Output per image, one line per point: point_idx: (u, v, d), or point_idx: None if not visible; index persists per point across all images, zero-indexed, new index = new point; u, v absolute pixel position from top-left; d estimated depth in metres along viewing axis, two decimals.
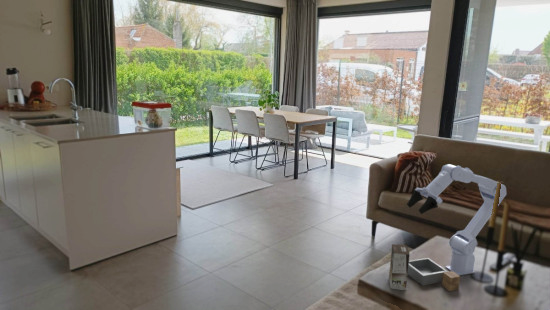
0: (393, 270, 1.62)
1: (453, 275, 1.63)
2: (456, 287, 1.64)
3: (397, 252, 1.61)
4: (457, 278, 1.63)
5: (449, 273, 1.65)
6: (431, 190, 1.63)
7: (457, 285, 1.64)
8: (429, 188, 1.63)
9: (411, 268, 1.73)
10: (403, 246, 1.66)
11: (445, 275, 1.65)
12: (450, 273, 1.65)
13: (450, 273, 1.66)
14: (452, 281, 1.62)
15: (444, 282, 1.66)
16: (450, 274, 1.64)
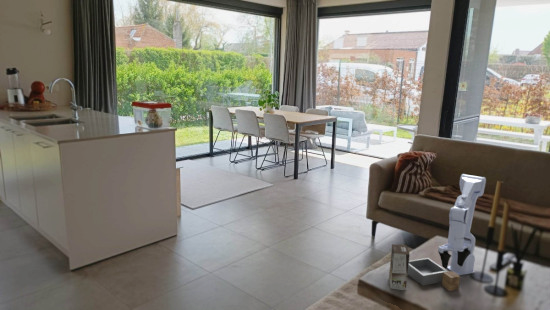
0: (393, 270, 1.62)
1: (453, 275, 1.63)
2: (456, 287, 1.64)
3: (397, 252, 1.61)
4: (457, 278, 1.63)
5: (449, 273, 1.65)
6: (462, 245, 1.60)
7: (457, 285, 1.64)
8: (461, 246, 1.59)
9: (411, 268, 1.73)
10: (403, 246, 1.66)
11: (445, 275, 1.65)
12: (450, 273, 1.65)
13: (450, 273, 1.66)
14: (452, 281, 1.62)
15: (444, 282, 1.66)
16: (450, 274, 1.64)
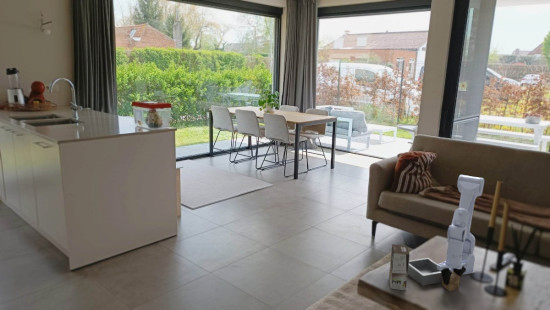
0: (393, 270, 1.62)
1: (453, 275, 1.63)
2: (456, 287, 1.64)
3: (397, 252, 1.61)
4: (457, 278, 1.63)
5: None
6: (460, 263, 1.62)
7: (457, 285, 1.64)
8: (459, 263, 1.61)
9: (411, 268, 1.73)
10: (403, 246, 1.66)
11: None
12: None
13: None
14: (452, 281, 1.62)
15: None
16: None
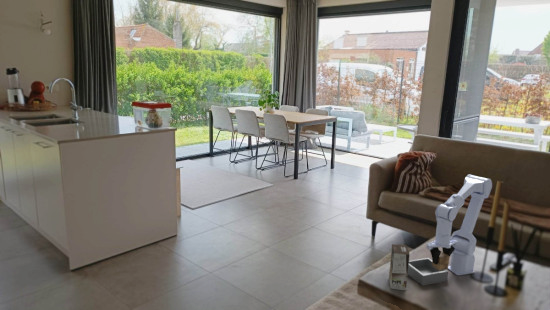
0: (393, 270, 1.62)
1: (442, 255, 1.66)
2: (446, 267, 1.66)
3: (397, 252, 1.61)
4: (446, 258, 1.65)
5: None
6: (449, 242, 1.65)
7: (447, 265, 1.66)
8: (448, 242, 1.64)
9: (411, 268, 1.73)
10: (403, 246, 1.66)
11: None
12: None
13: None
14: (442, 261, 1.65)
15: None
16: (440, 254, 1.67)
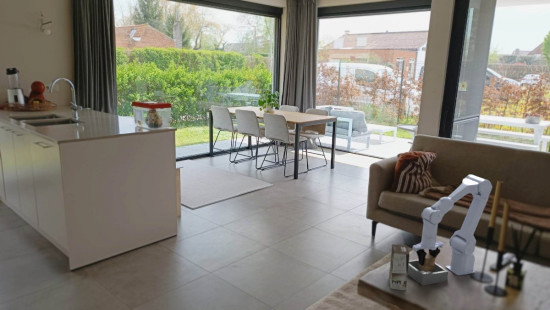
0: (393, 270, 1.62)
1: (428, 257, 1.71)
2: (431, 268, 1.72)
3: (397, 252, 1.61)
4: (432, 260, 1.71)
5: None
6: (435, 244, 1.70)
7: (432, 266, 1.72)
8: (434, 244, 1.69)
9: (411, 268, 1.73)
10: (403, 246, 1.66)
11: None
12: (426, 255, 1.73)
13: (426, 255, 1.73)
14: (427, 262, 1.70)
15: None
16: (426, 256, 1.72)
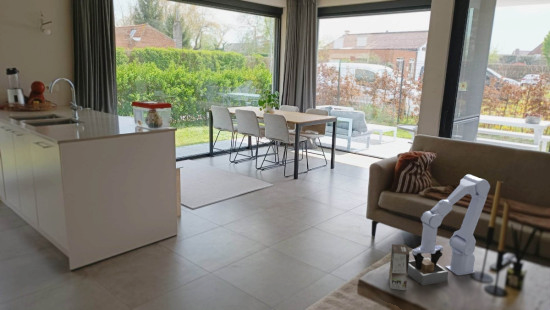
0: (393, 270, 1.62)
1: (427, 263, 1.72)
2: None
3: (397, 252, 1.61)
4: (431, 265, 1.71)
5: (424, 261, 1.74)
6: (434, 248, 1.70)
7: (432, 272, 1.72)
8: (433, 248, 1.69)
9: (411, 268, 1.73)
10: (403, 246, 1.66)
11: None
12: (425, 261, 1.74)
13: (426, 260, 1.74)
14: (426, 268, 1.71)
15: None
16: (425, 262, 1.73)
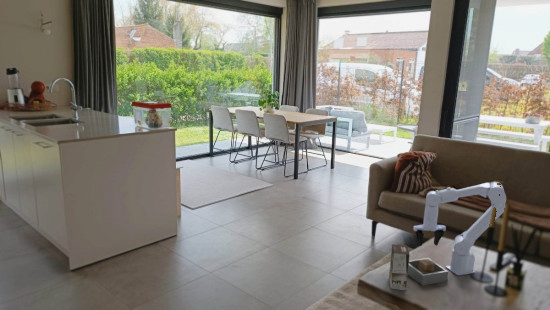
0: (393, 270, 1.62)
1: (427, 263, 1.72)
2: None
3: (397, 252, 1.61)
4: (431, 265, 1.71)
5: (424, 261, 1.74)
6: (436, 226, 1.79)
7: (432, 272, 1.72)
8: (434, 226, 1.79)
9: (411, 268, 1.73)
10: (403, 246, 1.66)
11: (420, 263, 1.73)
12: (425, 261, 1.74)
13: (426, 260, 1.74)
14: (426, 268, 1.71)
15: (420, 269, 1.74)
16: (425, 262, 1.73)
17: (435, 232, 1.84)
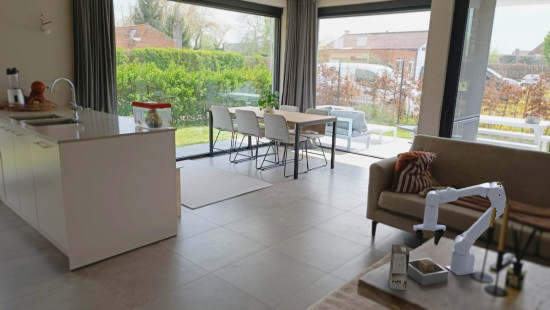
0: (393, 270, 1.62)
1: (427, 263, 1.72)
2: None
3: (397, 252, 1.61)
4: (431, 265, 1.71)
5: (424, 261, 1.74)
6: (436, 226, 1.80)
7: (432, 272, 1.72)
8: (434, 226, 1.79)
9: (411, 268, 1.73)
10: (403, 246, 1.66)
11: (420, 263, 1.73)
12: (425, 261, 1.74)
13: (426, 260, 1.74)
14: (426, 268, 1.71)
15: (420, 269, 1.74)
16: (425, 262, 1.73)
17: (435, 232, 1.84)
